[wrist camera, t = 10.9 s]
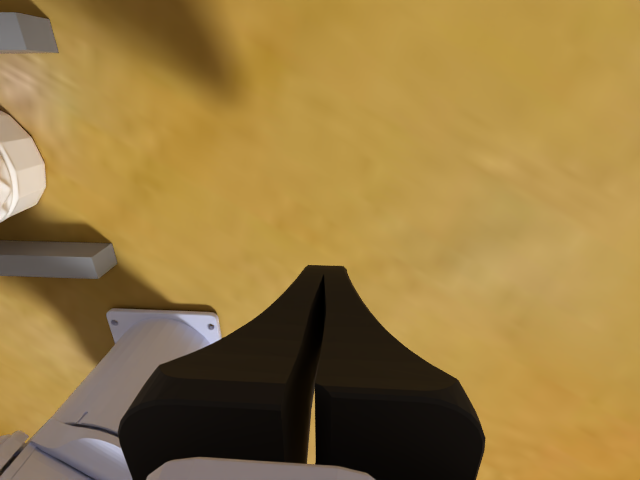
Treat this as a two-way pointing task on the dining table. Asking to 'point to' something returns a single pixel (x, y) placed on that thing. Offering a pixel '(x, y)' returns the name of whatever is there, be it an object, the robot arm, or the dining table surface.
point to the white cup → (18, 169)
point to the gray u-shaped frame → (38, 256)
